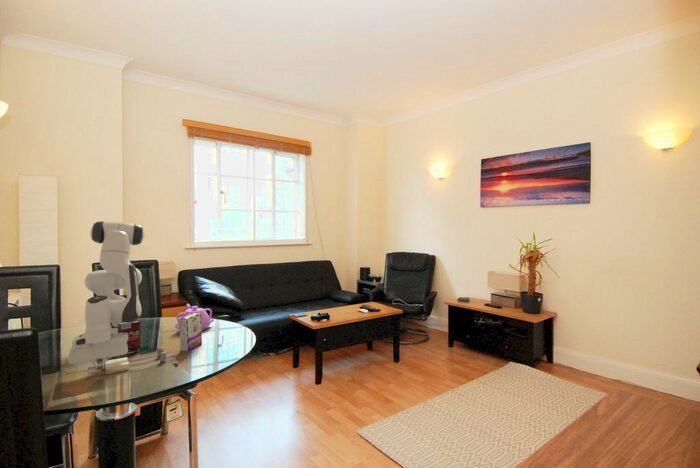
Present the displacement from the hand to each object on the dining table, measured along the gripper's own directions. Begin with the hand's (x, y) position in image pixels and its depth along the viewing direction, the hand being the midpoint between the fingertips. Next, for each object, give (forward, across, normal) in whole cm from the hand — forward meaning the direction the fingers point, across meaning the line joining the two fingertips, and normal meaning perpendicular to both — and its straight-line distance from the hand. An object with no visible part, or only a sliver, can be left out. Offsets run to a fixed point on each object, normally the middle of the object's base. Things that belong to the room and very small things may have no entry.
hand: (99, 369), depth 150 cm
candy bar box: (+3, -38, -13) cm, 40 cm away
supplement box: (+3, -12, -20) cm, 23 cm away
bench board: (+3, -12, 0) cm, 12 cm away
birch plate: (+1, -6, 0) cm, 6 cm away
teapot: (+3, -47, -49) cm, 68 cm away
